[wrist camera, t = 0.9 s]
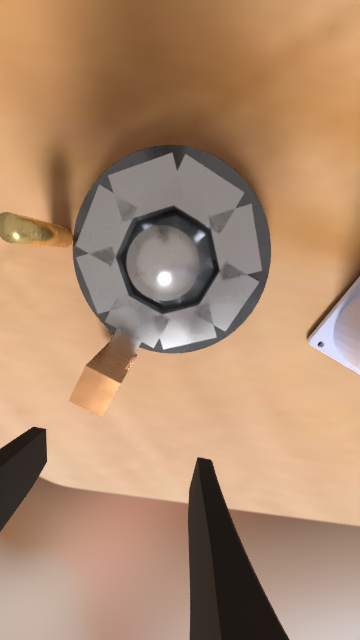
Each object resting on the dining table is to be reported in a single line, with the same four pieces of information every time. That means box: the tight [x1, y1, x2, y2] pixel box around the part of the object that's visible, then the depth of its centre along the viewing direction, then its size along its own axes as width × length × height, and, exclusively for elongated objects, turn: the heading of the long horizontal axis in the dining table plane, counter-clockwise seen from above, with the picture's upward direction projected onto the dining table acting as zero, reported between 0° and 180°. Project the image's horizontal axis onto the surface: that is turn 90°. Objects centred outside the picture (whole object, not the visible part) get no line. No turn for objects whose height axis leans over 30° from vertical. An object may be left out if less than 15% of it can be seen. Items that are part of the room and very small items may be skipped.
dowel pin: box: [0, 212, 72, 247], centre depth 14 cm, size 2×2×5 cm
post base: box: [73, 145, 271, 353], centre depth 14 cm, size 14×14×6 cm
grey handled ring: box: [69, 152, 262, 417], centre depth 13 cm, size 16×12×4 cm
